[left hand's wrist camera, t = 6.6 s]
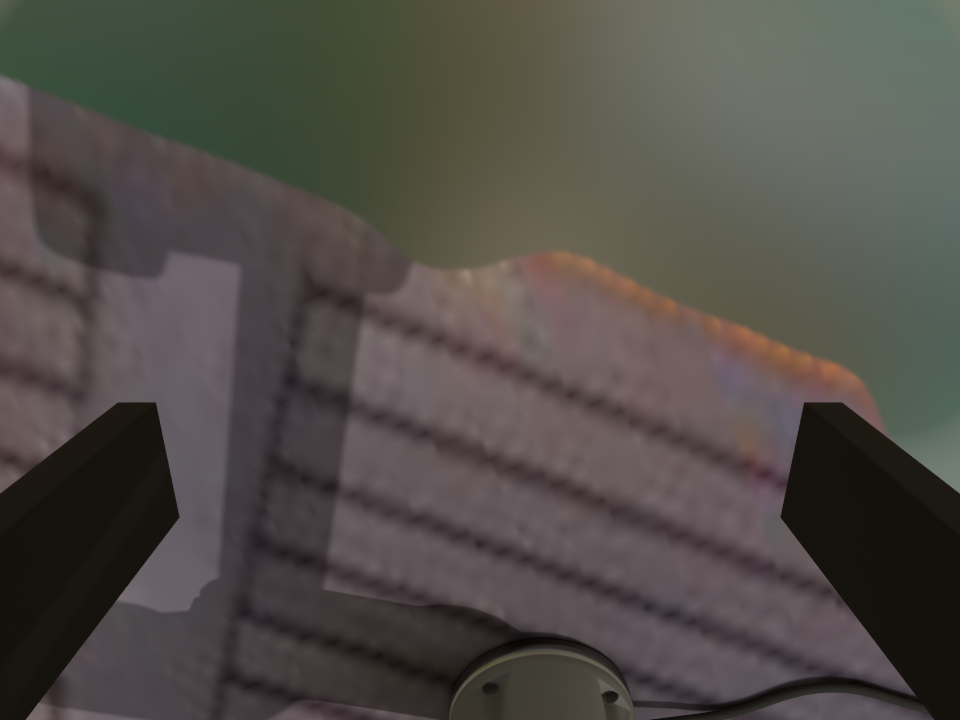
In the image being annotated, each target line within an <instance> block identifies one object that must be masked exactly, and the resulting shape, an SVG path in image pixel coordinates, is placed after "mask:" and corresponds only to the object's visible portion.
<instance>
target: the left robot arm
mask: <svg viewBox="0 0 960 720" xmlns="http://www.w3.org/2000/svg"><path fill="white" fill-rule="evenodd" d="M178 519H179V513H178V508H177V503H176V498H175V493H174V488H173V484H172V479H171V474H170V469H169V464H168V459H167V454H166V450H165V445H164V440H163V435H162V430H161V425H160V420H159V416H158V411H157V406H156V403H117V404H115V405H114V406H113V407H112V408H110V409H109V410H108V411H106V412H105V413H104V414H103V415H101V416H100V417H99V418H97V419H96V420H95V421H93V422H92V423H91V424H90V425H88V426H87V427H86V428H84V429H83V430H82V431H81V432H79V433H78V434H77V435H75V436H74V437H73V438H72V439H70V440H69V441H68V442H66V443H65V444H64V445H62V446H61V447H60V448H59V449H57V450H56V451H55V452H53V453H52V454H51V455H50V456H48V457H47V458H46V459H44V460H43V461H42V462H41V463H39V464H38V465H37V466H35V467H34V468H33V469H32V470H30V471H29V472H28V473H26V474H25V475H24V476H22V477H21V478H20V479H19V480H17V481H16V482H15V483H13V484H12V485H11V486H10V487H8V488H7V489H6V490H4V491H3V492H2V493H1V494H0V720H26V718H27V717H28V716H29V714H30V713H31V712H32V711H33V709H34V708H35V707H36V705H37V704H38V703H39V701H40V700H41V699H42V697H43V696H44V695H45V693H46V692H47V691H48V690H49V688H50V687H51V686H52V684H53V683H54V682H55V680H56V679H57V678H58V676H59V675H60V674H61V672H62V671H63V670H64V668H65V667H66V666H67V665H68V663H69V662H70V661H71V659H72V658H73V657H74V655H75V654H76V653H77V651H78V650H79V649H80V647H81V646H82V645H83V643H84V642H85V641H86V640H87V638H88V637H89V636H90V634H91V633H92V632H93V630H94V629H95V628H96V626H97V625H98V624H99V622H100V621H101V620H102V619H103V617H104V616H105V615H106V613H107V612H108V611H109V609H110V608H111V607H112V605H113V604H114V603H115V601H116V600H117V599H118V597H119V596H120V595H121V594H122V592H123V591H124V590H125V588H126V587H127V586H128V584H129V583H130V582H131V580H132V579H133V578H134V576H135V575H136V574H137V572H138V571H139V570H140V569H141V567H142V566H143V565H144V563H145V562H146V561H147V559H148V558H149V557H150V555H151V554H152V553H153V551H154V550H155V549H156V547H157V546H158V545H159V544H160V542H161V541H162V540H163V538H164V537H165V536H166V534H167V533H168V532H169V530H170V529H171V528H172V526H173V525H174V524H175V523H176V521H177V520H178ZM781 519H782V520H783V521H784V523H785V524H786V525H787V526H788V528H789V529H790V530H791V532H792V533H793V534H794V536H795V537H796V538H797V540H798V541H799V542H800V544H801V545H802V546H803V547H804V549H805V550H806V551H807V553H808V554H809V555H810V557H811V558H812V559H813V561H814V562H815V563H816V565H817V566H818V567H819V569H820V570H821V571H822V572H823V574H824V575H825V576H826V578H827V579H828V580H829V582H830V583H831V584H832V586H833V587H834V588H835V590H836V591H837V592H838V594H839V595H840V596H841V597H842V599H843V600H844V601H845V603H846V604H847V605H848V607H849V608H850V609H851V611H852V612H853V613H854V615H855V616H856V617H857V619H858V620H859V621H860V622H861V624H862V625H863V626H864V628H865V629H866V630H867V632H868V633H869V634H870V636H871V637H872V638H873V640H874V641H875V642H876V643H877V645H878V646H879V647H880V649H881V650H882V651H883V653H884V654H885V655H886V657H887V658H888V659H889V661H890V662H891V663H892V665H893V666H894V667H895V668H896V670H897V671H898V672H899V674H900V675H901V676H902V678H903V679H904V680H905V682H906V683H907V684H908V686H909V687H910V688H911V690H912V691H913V692H914V693H915V695H916V696H917V697H918V699H919V700H920V701H921V702H918V701H914V700H910V699H907V698H903V697H900V696H897V695H894V694H890V693H887V692H884V691H881V690H877V689H874V688H870V687H866V686H862V685H856V684H850V683H836V682H828V683H812V684H805V685H800V686H795V687H791V688H787V689H784V690H781V691H777V692H775V693H772V694H769V695H766V696H763V697H760V698H758V699H755V700H752V701H749V702H746V703H743V704H740V705H737V706H733V707H730V708H726V709H721V710H717V711H712V712H706V713H699V714H691V715H683V716H675V717H668V718H660V719H652V720H725V719H729V718H733V717H737V716H740V715H744V714H747V713H750V712H753V711H756V710H759V709H761V708H764V707H767V706H770V705H773V704H775V703H778V702H781V701H784V700H788V699H791V698H795V697H799V696H804V695H809V694H816V693H835V692H837V693H852V694H859V695H864V696H868V697H872V698H876V699H879V700H883V701H886V702H889V703H892V704H895V705H899V706H902V707H905V708H909V709H913V710H916V711H920V712H924V713H928V714H931V716H932V717H933V718H934V720H960V494H959V493H958V492H957V491H956V490H954V489H953V488H952V487H950V486H949V485H948V484H947V483H945V482H944V481H943V480H941V479H940V478H939V477H938V476H936V475H935V474H934V473H932V472H931V471H930V470H928V469H927V468H926V467H925V466H923V465H922V464H921V463H919V462H918V461H917V460H916V459H914V458H913V457H912V456H910V455H909V454H908V453H906V452H905V451H904V450H903V449H901V448H900V447H899V446H898V445H896V444H895V443H894V442H892V441H891V440H890V439H888V438H887V437H886V436H885V435H883V434H882V433H881V432H879V431H878V430H877V429H876V428H874V427H873V426H872V425H870V424H869V423H868V422H867V421H865V420H864V419H863V418H861V417H860V416H859V415H857V414H856V413H855V412H854V411H852V410H851V409H850V408H848V407H847V406H846V405H845V404H843V403H804V406H803V411H802V416H801V420H800V425H799V430H798V435H797V440H796V445H795V450H794V454H793V459H792V464H791V469H790V474H789V479H788V484H787V488H786V493H785V498H784V503H783V508H782V513H781ZM449 720H635V714H634V708H633V703H632V700H631V696H630V692H629V688H628V686H627V683H626V681H625V679H624V677H623V676H622V674H621V673H620V671H619V670H618V669H617V668H616V667H615V666H614V665H613V664H612V663H611V662H610V661H609V660H608V659H606V658H605V657H604V656H602V655H601V654H599V653H597V652H596V651H594V650H592V649H590V648H587V647H585V646H582V645H579V644H576V643H572V642H568V641H563V640H554V639H532V640H524V641H519V642H514V643H510V644H507V645H504V646H501V647H499V648H496V649H494V650H492V651H490V652H488V653H486V654H485V655H483V656H481V657H480V658H478V659H477V660H476V661H474V662H473V663H472V664H471V665H470V666H469V667H468V668H467V669H466V670H465V671H464V672H463V673H462V675H461V676H460V677H459V679H458V681H457V682H456V684H455V686H454V688H453V691H452V694H451V699H450V710H449Z"/></svg>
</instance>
